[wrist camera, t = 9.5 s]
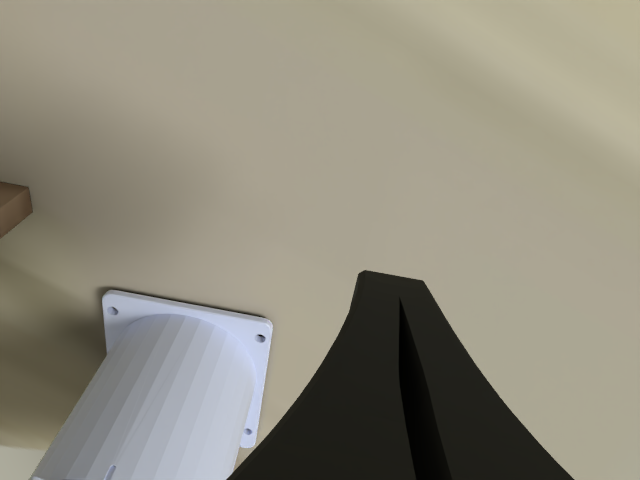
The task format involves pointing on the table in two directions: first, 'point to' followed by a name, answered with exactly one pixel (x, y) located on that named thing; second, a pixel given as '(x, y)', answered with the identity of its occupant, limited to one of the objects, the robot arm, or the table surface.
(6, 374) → the table surface
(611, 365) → the table surface
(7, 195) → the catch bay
